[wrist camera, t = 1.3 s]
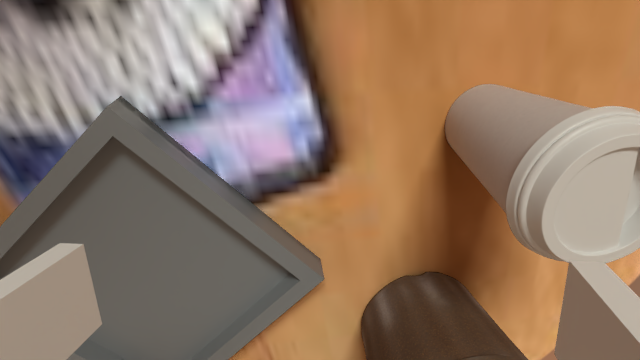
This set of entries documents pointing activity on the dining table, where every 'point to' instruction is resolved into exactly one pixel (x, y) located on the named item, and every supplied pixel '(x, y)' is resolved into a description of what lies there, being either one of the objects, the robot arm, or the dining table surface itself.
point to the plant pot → (432, 323)
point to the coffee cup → (554, 169)
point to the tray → (160, 245)
